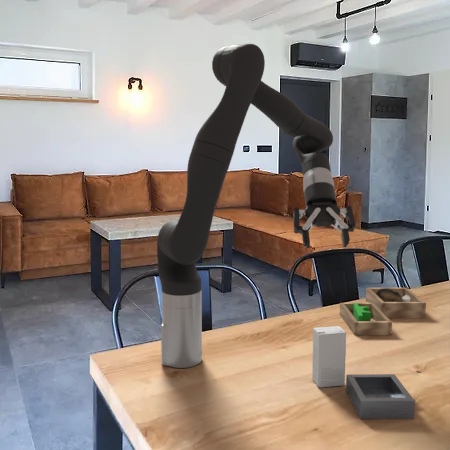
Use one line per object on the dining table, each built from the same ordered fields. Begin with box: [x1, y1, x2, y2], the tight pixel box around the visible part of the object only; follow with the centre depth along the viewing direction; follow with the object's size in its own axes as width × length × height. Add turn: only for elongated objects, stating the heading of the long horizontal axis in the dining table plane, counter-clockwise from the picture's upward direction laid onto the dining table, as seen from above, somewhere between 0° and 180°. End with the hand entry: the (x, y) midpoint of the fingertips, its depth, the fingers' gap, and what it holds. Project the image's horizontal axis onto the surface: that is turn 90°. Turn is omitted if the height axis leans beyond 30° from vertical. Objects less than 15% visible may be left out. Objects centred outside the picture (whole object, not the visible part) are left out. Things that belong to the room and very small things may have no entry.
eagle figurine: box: [376, 287, 410, 302], centre depth 158 cm, size 8×7×9 cm
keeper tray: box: [345, 373, 416, 420], centre depth 101 cm, size 10×11×4 cm
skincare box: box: [311, 325, 347, 388], centre depth 109 cm, size 6×4×12 cm
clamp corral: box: [339, 302, 393, 336], centre depth 146 cm, size 10×17×4 cm, turn 1°
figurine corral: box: [365, 287, 427, 319], centre depth 158 cm, size 13×16×4 cm
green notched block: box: [353, 302, 372, 321], centre depth 146 cm, size 11×4×5 cm, turn 173°
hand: (326, 246), depth 118 cm, fingers open, 8 cm apart
